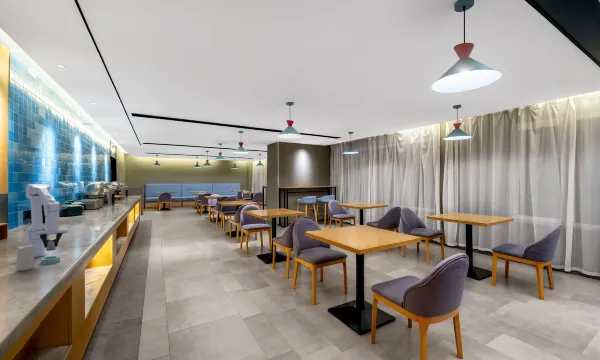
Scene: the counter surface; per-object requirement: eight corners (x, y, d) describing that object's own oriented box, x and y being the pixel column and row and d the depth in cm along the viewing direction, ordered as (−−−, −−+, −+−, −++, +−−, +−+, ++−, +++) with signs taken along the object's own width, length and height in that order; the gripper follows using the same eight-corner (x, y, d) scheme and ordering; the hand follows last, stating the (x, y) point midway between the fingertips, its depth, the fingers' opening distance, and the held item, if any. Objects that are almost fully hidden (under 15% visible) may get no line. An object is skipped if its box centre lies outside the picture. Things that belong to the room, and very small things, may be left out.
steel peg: (46, 249, 151) (47, 238, 151) (56, 248, 154) (56, 238, 154) (45, 251, 148) (46, 240, 148) (55, 250, 150) (55, 239, 150)
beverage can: (22, 272, 135) (23, 248, 135) (12, 270, 136) (13, 247, 136) (36, 268, 141) (37, 245, 141) (27, 266, 142) (28, 244, 142)
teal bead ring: (41, 261, 152) (42, 257, 152) (60, 259, 156) (60, 255, 156) (39, 265, 145) (39, 260, 145) (58, 262, 150) (59, 258, 150)
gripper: (32, 225, 143) (31, 250, 143) (68, 223, 152) (67, 246, 152) (35, 223, 149) (34, 247, 149) (69, 221, 158) (68, 244, 158)
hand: (51, 246), depth 151 cm, fingers closed on steel peg, 4 cm apart
